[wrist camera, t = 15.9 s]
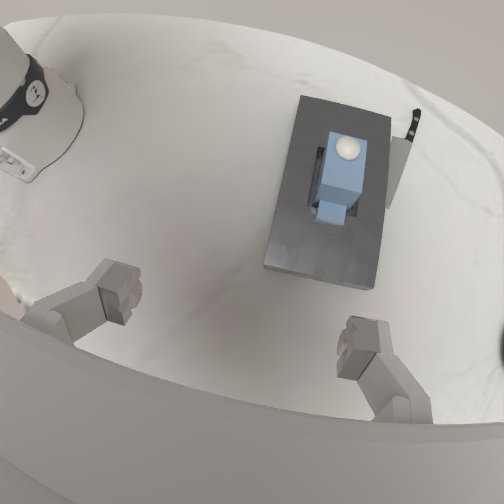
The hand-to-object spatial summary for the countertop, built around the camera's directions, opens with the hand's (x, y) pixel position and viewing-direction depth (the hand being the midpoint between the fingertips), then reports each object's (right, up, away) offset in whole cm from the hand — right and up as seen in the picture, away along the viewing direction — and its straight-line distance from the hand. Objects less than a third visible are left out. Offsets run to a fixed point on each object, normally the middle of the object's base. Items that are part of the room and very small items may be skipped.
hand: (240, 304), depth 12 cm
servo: (+10, +9, +26) cm, 29 cm away
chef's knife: (+20, +15, +27) cm, 36 cm away
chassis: (+10, +9, +26) cm, 29 cm away
